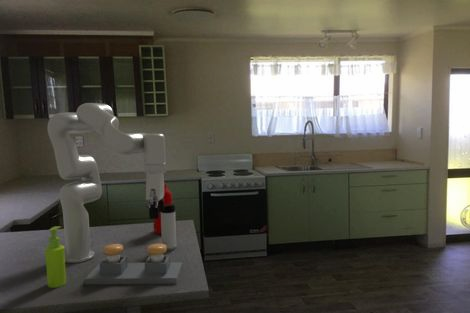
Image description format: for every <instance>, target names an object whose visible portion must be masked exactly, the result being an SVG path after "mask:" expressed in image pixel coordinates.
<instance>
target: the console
mask: <svg viewBox="0 0 470 313" xmlns="http://www.w3.org/2000/svg"><path fill="white" fill-rule="evenodd" d="M163 256H164V262H163V263H151V255H149V256H148V257H147V259H146V260H145V262H128V255H120V263H108V262H107V256H105V257H104V258H103V259H102V260H101V262H99V263H98V264H97V265H96V266H95V267H94V268H93V269H92V271H91V272H89V273H88V275H87V276H86V277H85V278H84V285H145V284H147V285H153V284H157V285H159V284H173V285H175V284H177V283H178V282H179V279H180V276H181V273H182V269H183V262H182V261H181V262H180V261H177V262H175V261H174V262H173V261H172V262H171V257H170V256H171V255H164V254H163Z"/></svg>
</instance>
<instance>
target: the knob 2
mask: <svg viewBox="0 0 470 313" xmlns="http://www.w3.org/2000/svg"><path fill="white" fill-rule="evenodd" d="M166 252H168V251H167V246H166V245H165V244H162V243H152V244H150V245H148V246H147V254H148V255H150V256H151V263H163V262H164V256H163V255H164V254H165V253H166Z"/></svg>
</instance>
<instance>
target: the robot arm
mask: <svg viewBox="0 0 470 313" xmlns="http://www.w3.org/2000/svg"><path fill="white" fill-rule="evenodd" d="M119 126H120V121H119V119H118V118H117V116H115V114H114V110H113V109H112V107H111V106H110V105H108V104H107V103H99V102H86V103H85V102H84V103H83V104H81V105H79V106H78V107H77V109H76V112H72V111H71V112H58V113H55V114H53V115H51V117H50V118H49V120H48V123H47V134H48V137H49V139H50V143H51V145H52V147H53V151H54V157H55V161H56V162H55V163H56V165H57V171H58V173H59V177H60V178H61V179H63V180H67V181H69V180H74V179H75V180H76V179H81V180H79V181H74V182H68V183H67V184H64V185H63V186H62V187H60V190H59V193H58V196H59V201H60V204H61V208H62V217H63V220H62V221H63V230H64V231H63V232H64V234H63V235H64V253H65V264H66V263H68V264H76V263H82V262H86V261H89V260H92V258H94V257H95V256H96V255H95V251H94V250H91V236H90V235H91V234H90V219H89V212H88V211H87V209H86V208H85V204H87V203H92V202H95V201H97V200H99V199H100V198H101V196H102V193H103V189H102V188H103V187H102V182H101V177H100V172H99V171H100V170H99V168H98V163H97V162H96V160H95V158H94V157H92V156H91V155H89V154H79V152H78V147H77V143H76V142H75V140H74V139H73V138H72V137H71V136H70V134H86V133H92V132H96V133H98V134H100V135H101V137H102V141H103V142H104V144H105V145H106V146H107V147H109V149H111V150H113V151H115V152H116V153H117V154H120V155H124V156H129V155H139V154H143V159H144V161H143V162H144V163H143V164H144V174H146V177H145V201H147V202H148V214H149V216H148V217H149V219H150V220H154V219H158V218H159V212H164V201H163V200H164V199H163V196H164V183H165V180H164V178H165V176H164V174H165V173H167V162H166V161H167V159H166V157H167V156H166V155H167V154H166V137H165V135H164V134H163V133H146V132H131V133H125V132H123V131H121V130H120V129H119Z"/></svg>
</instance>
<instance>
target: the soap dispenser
mask: <svg viewBox="0 0 470 313" xmlns="http://www.w3.org/2000/svg"><path fill="white" fill-rule="evenodd" d="M61 228H62V226H60V225H59V226H56V225H55V226H52V227H51V228H50V229H48V232H49V233H50V235H51V236H50V237H49V238H48V246H47V247H45V263H46V265H45V266H46V281H47V287H48V288H51V289H52V288H53V289H54V288H59V287H62V286H63V287H64V285H66V284H67V274H66V273H67V272H66V270H67V269H66V262H65V253H64V247H65V245H62V244H61V240H60V239H61V238H60V236H58V234H57V233H58V232H57V231H58V229H61Z"/></svg>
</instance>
